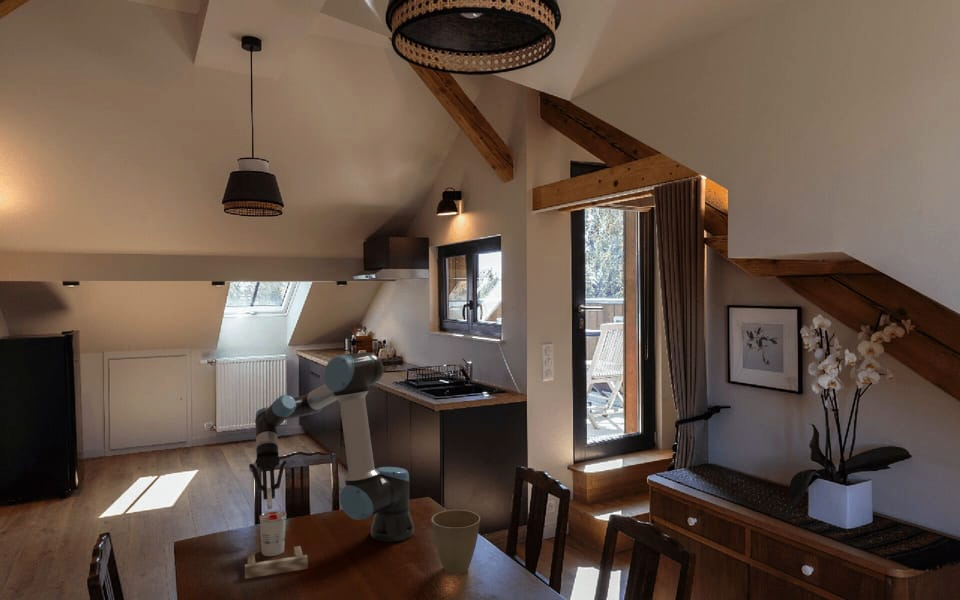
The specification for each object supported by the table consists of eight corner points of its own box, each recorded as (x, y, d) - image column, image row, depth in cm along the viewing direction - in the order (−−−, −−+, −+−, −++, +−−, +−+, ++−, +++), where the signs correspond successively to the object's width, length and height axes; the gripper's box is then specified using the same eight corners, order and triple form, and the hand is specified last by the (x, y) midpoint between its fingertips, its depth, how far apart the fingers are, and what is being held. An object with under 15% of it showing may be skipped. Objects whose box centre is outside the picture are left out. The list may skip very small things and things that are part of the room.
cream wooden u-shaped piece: (303, 554, 200) (303, 543, 200) (307, 568, 190) (307, 557, 190) (244, 563, 193) (244, 552, 193) (245, 578, 183) (245, 567, 183)
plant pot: (425, 564, 193) (425, 513, 193) (469, 556, 199) (469, 507, 199) (441, 585, 179) (441, 530, 179) (487, 575, 185) (487, 523, 185)
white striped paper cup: (292, 547, 206) (292, 511, 206) (282, 558, 197) (282, 520, 197) (264, 546, 207) (264, 510, 207) (252, 556, 198) (252, 519, 198)
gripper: (285, 450, 232) (288, 510, 217) (247, 454, 227) (249, 514, 212) (286, 440, 227) (290, 499, 212) (248, 443, 222) (249, 504, 207)
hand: (269, 507), depth 212 cm, fingers closed
